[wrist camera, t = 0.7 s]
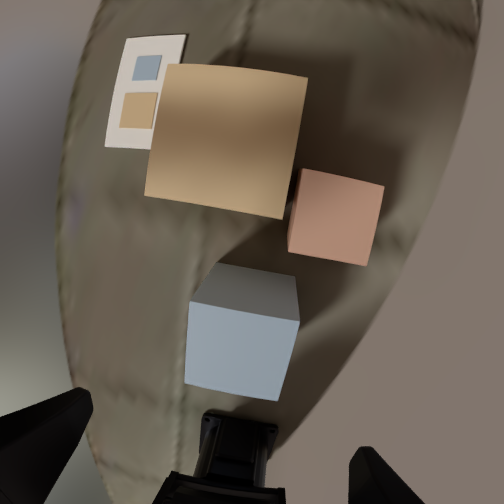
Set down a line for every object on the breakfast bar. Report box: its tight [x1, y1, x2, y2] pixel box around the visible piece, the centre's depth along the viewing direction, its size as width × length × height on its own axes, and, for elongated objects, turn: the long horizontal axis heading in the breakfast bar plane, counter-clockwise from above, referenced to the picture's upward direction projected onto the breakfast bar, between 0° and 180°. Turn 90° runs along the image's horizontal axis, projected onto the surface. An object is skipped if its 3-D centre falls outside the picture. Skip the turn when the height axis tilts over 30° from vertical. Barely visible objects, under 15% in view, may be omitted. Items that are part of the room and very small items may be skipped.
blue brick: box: [185, 262, 300, 401], centre depth 17 cm, size 5×5×6 cm
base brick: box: [144, 64, 308, 219], centre depth 15 cm, size 7×7×4 cm
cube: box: [287, 168, 385, 266], centre depth 16 cm, size 4×4×4 cm
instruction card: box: [105, 35, 186, 149], centre depth 16 cm, size 8×4×1 cm, turn 171°
